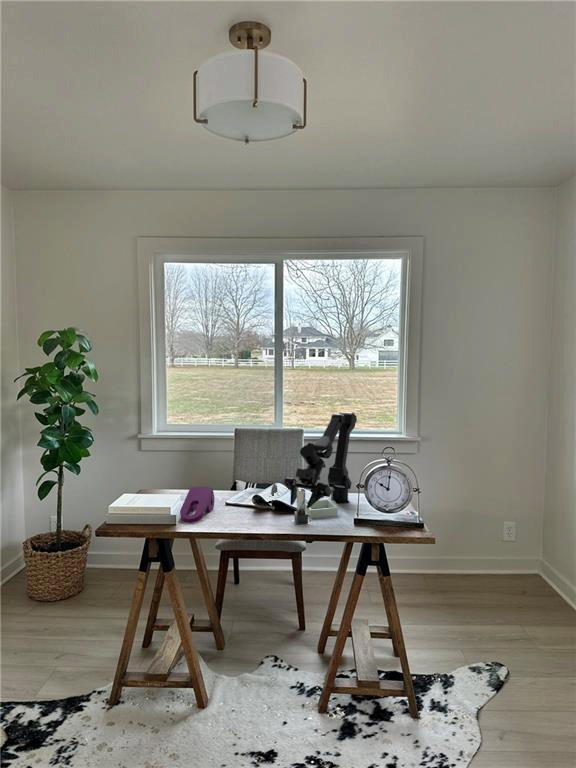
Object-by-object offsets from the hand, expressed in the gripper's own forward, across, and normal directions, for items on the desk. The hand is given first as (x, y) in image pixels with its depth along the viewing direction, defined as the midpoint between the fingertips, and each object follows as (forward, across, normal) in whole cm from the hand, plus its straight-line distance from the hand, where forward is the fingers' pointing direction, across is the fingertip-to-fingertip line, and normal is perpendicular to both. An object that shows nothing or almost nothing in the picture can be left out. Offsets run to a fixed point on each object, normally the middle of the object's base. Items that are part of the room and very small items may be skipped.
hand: (299, 506), depth 185 cm
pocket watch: (-8, -26, +19) cm, 33 cm away
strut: (+3, 0, +5) cm, 6 cm away
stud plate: (+4, 0, +6) cm, 8 cm away
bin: (-5, +1, +15) cm, 16 cm away
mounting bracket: (+13, -42, -2) cm, 44 cm away
